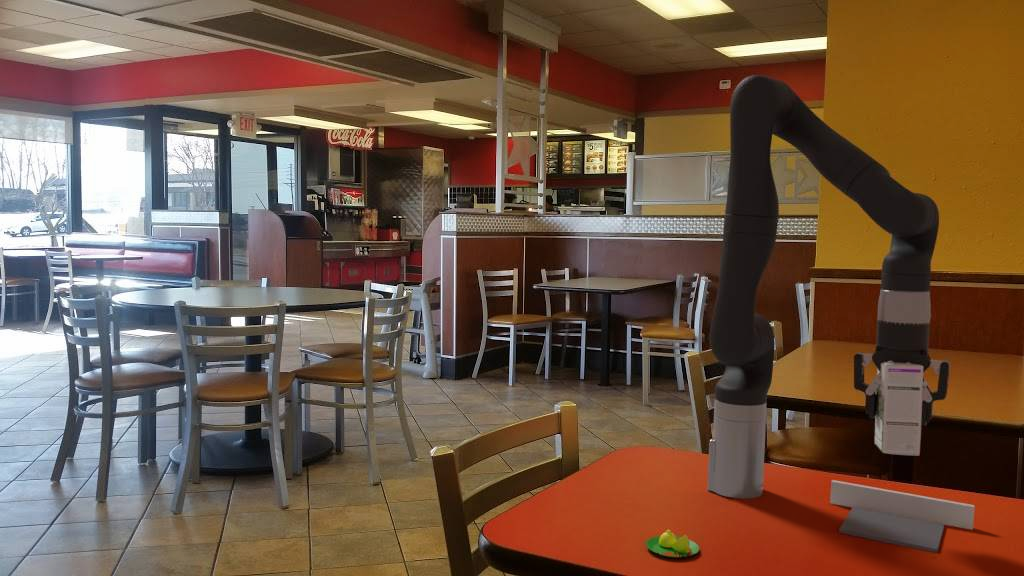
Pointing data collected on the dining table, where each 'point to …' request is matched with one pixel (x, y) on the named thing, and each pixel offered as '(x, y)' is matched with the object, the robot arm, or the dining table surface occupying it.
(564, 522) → the dining table surface
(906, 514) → the low wall
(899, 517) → the mat
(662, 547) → the green fruit plate
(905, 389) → the syrup box
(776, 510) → the dining table surface
